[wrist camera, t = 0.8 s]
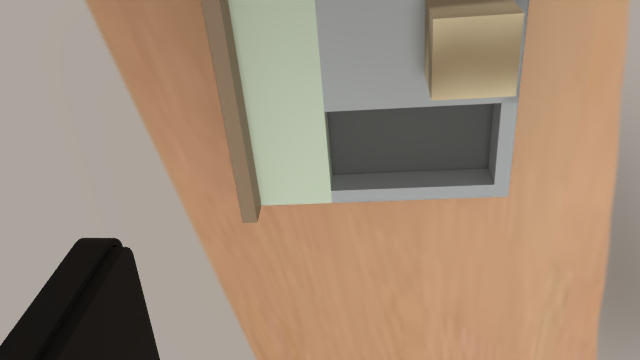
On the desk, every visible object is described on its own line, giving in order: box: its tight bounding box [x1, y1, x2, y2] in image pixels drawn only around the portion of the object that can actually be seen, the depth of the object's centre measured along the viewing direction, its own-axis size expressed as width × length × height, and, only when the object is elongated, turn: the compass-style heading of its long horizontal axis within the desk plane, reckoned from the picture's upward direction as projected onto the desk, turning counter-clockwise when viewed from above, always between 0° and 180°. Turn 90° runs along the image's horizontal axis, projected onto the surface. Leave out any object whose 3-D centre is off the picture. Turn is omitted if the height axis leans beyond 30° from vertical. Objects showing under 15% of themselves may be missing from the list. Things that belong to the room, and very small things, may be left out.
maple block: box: [424, 0, 524, 101], centre depth 32 cm, size 4×4×4 cm
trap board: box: [201, 0, 529, 223], centre depth 35 cm, size 23×18×4 cm
